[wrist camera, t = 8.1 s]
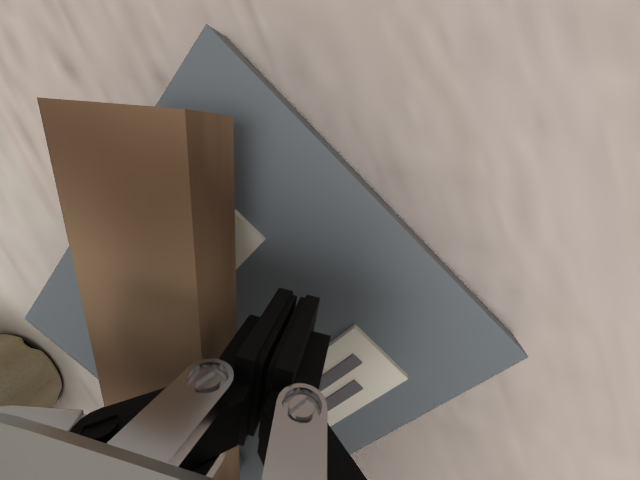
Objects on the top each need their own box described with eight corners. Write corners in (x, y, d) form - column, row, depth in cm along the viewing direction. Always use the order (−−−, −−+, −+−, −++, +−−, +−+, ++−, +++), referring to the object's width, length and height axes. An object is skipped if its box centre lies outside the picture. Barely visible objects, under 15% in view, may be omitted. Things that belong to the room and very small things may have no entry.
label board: (261, 481, 21) (240, 546, 17) (50, 304, 19) (-18, 340, 15) (513, 335, 14) (554, 395, 11) (226, 37, 12) (170, 0, 9)
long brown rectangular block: (240, 531, 16) (217, 597, 14) (173, 513, 17) (141, 572, 15) (232, 115, 9) (184, 109, 7) (117, 106, 10) (37, 97, 7)
